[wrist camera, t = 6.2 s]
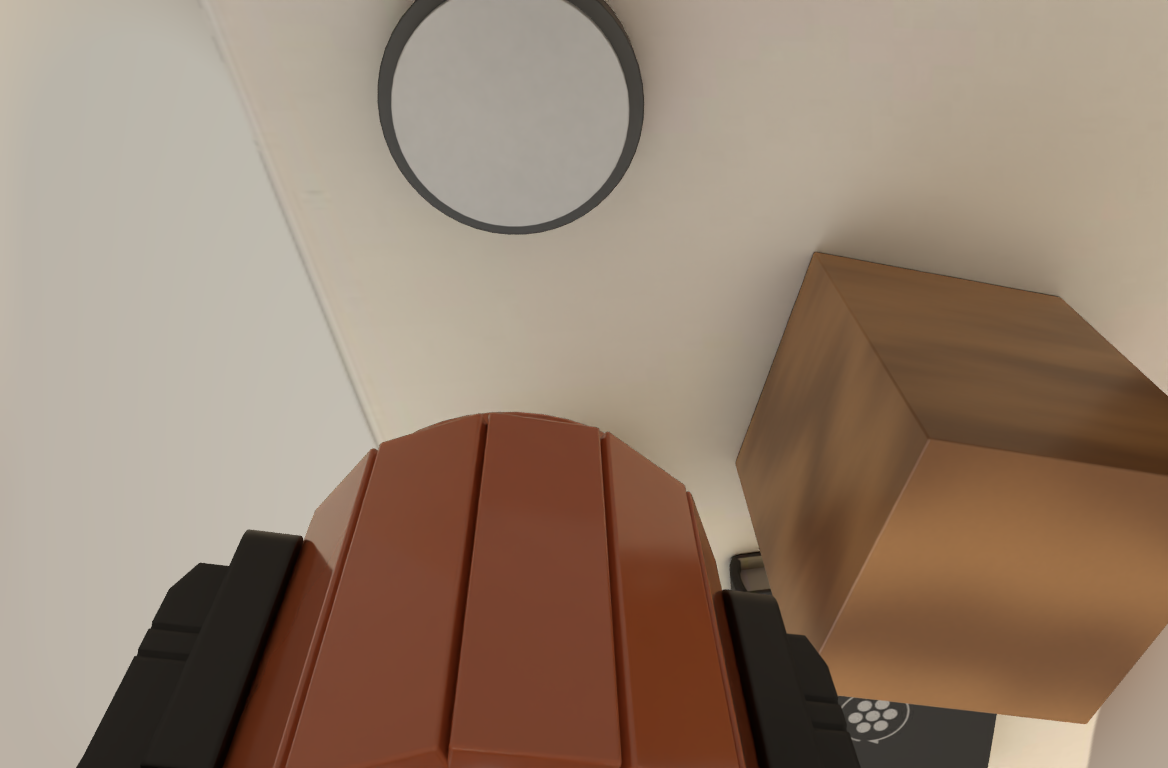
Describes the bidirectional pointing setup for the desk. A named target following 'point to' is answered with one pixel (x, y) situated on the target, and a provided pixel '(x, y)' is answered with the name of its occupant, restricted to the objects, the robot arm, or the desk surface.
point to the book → (895, 713)
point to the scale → (511, 108)
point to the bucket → (501, 614)
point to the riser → (959, 493)
